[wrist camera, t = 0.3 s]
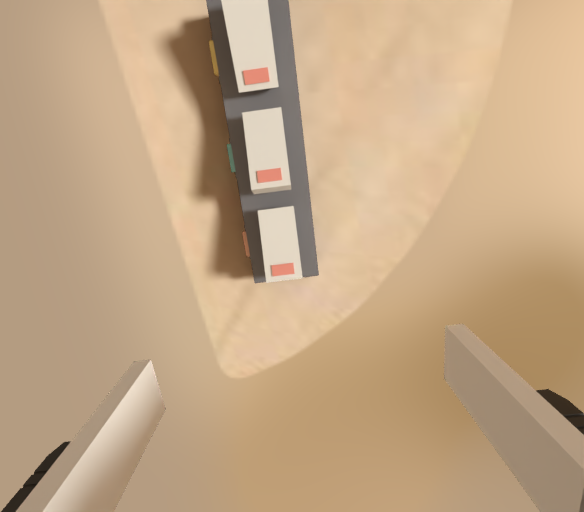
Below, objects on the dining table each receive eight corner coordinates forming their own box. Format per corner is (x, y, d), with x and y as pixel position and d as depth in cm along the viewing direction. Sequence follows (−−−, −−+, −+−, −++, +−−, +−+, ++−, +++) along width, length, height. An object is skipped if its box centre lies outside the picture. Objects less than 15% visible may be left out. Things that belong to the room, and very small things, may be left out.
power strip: (198, -51, 32) (183, -87, 27) (279, -64, 32) (277, -102, 27) (254, 274, 41) (249, 286, 37) (316, 266, 41) (319, 278, 37)
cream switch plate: (245, 121, 33) (241, 111, 31) (282, 115, 33) (280, 106, 31) (254, 194, 32) (251, 189, 31) (291, 189, 32) (290, 184, 30)
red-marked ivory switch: (221, -9, 28) (218, -13, 26) (265, -16, 27) (265, -20, 26) (240, 90, 32) (238, 92, 30) (278, 85, 32) (278, 87, 30)
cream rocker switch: (259, 213, 36) (257, 210, 34) (294, 209, 35) (293, 205, 33) (268, 282, 35) (266, 282, 33) (302, 277, 35) (302, 278, 33)
